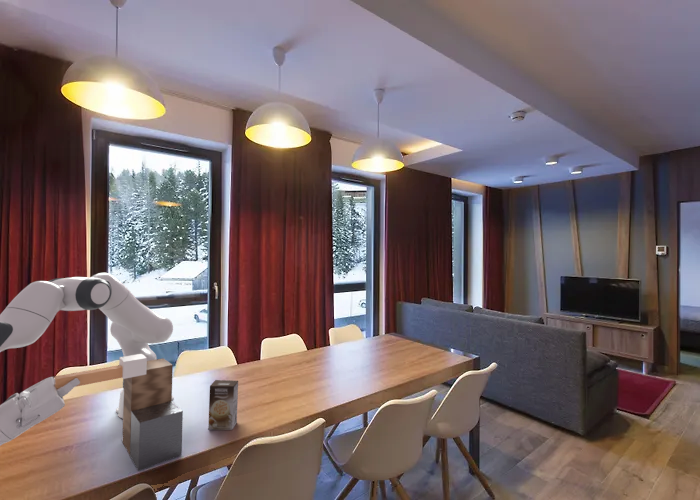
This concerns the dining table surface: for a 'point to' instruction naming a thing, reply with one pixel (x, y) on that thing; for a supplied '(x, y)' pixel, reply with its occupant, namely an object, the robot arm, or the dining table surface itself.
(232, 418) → the coffee box
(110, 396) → the dining table surface
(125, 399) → the tall wood-grain pillar
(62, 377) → the wooden handled mallet
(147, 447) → the block
